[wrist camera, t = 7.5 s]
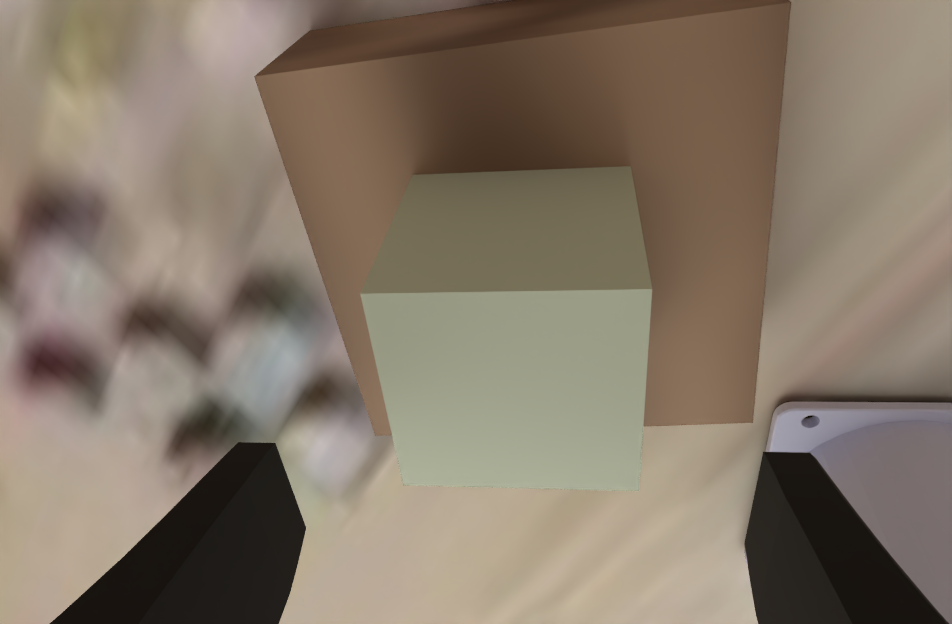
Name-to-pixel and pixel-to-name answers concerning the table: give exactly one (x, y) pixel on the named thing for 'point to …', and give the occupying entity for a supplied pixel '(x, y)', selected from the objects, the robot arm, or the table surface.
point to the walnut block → (557, 155)
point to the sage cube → (514, 329)
